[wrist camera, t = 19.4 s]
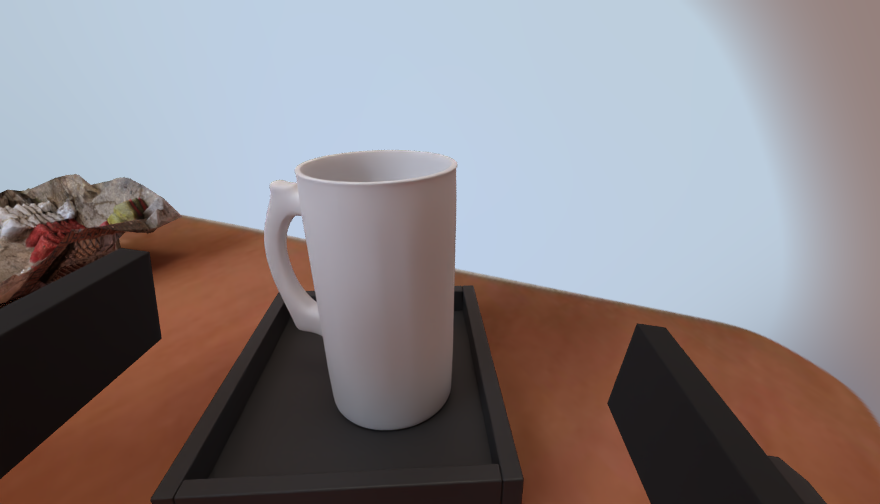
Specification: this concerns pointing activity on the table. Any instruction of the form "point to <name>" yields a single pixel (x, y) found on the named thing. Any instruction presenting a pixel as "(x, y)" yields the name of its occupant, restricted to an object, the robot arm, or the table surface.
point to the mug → (374, 277)
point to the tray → (344, 431)
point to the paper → (69, 227)
